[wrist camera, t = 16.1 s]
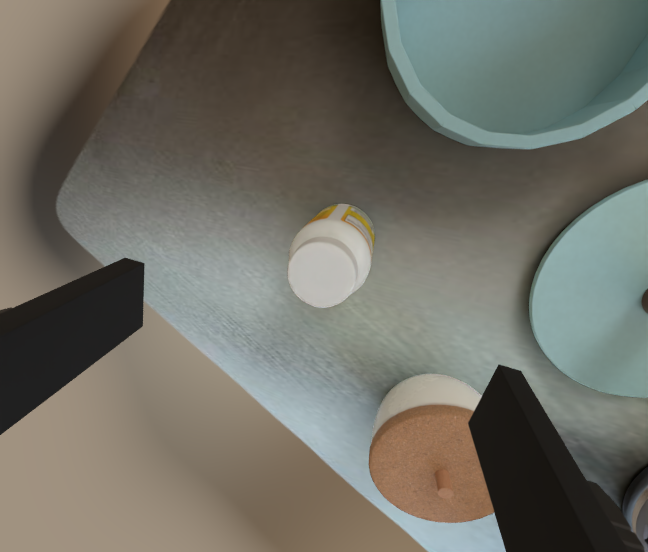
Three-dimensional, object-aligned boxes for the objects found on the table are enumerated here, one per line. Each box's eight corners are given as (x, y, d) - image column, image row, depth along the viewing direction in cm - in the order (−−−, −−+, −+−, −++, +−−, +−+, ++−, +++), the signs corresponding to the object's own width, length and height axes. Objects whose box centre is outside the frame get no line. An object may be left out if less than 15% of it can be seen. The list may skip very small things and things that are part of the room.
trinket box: (350, 386, 34) (337, 470, 25) (447, 330, 30) (472, 406, 21) (415, 460, 35) (424, 562, 27) (514, 416, 32) (563, 518, 23)
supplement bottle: (379, 206, 27) (376, 236, 18) (370, 270, 29) (362, 325, 20) (312, 198, 28) (277, 223, 19) (307, 261, 30) (273, 311, 21)
